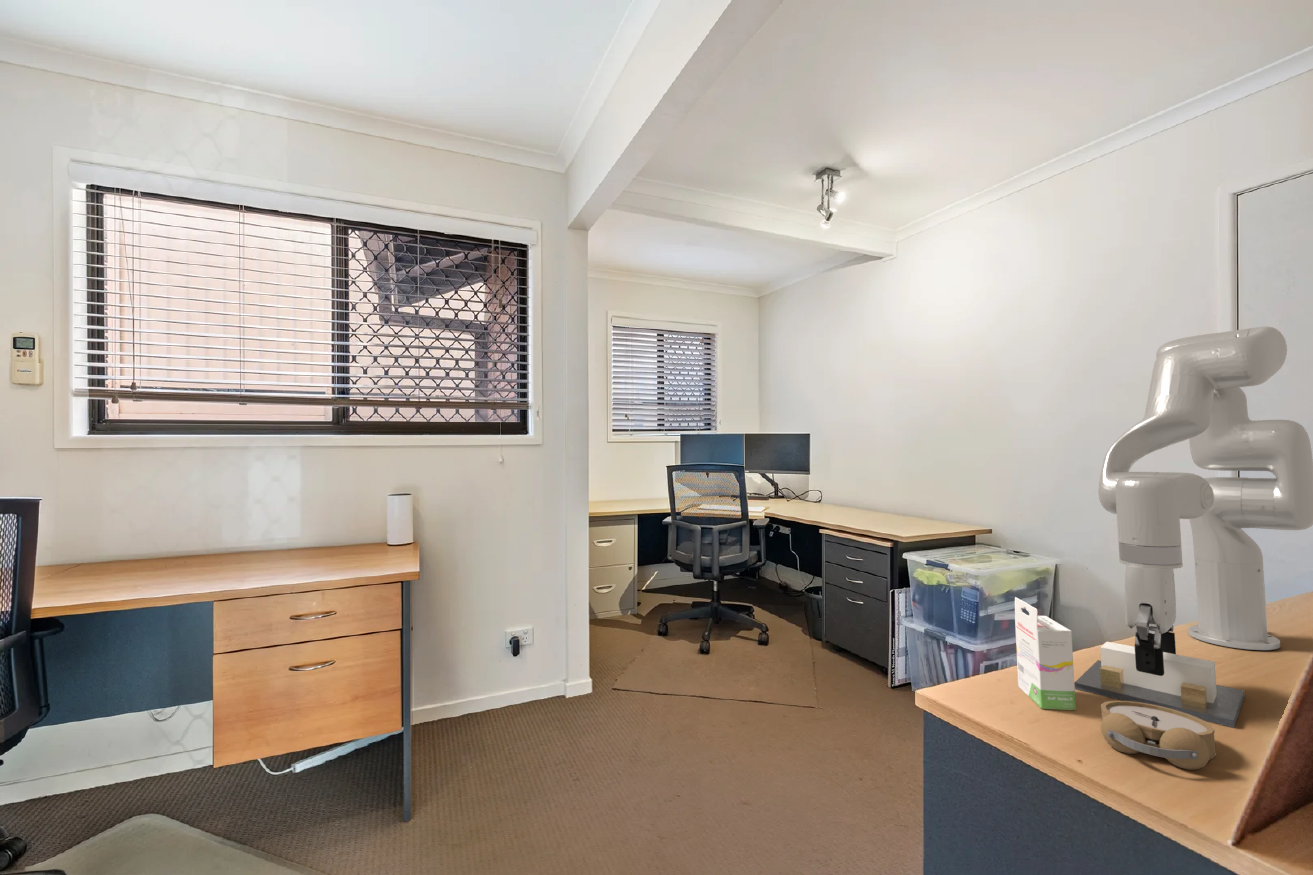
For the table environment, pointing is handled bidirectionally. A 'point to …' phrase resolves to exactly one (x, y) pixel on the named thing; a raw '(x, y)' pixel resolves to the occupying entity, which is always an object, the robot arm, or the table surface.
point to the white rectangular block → (1174, 670)
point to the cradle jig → (1165, 695)
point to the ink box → (1044, 659)
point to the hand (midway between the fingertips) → (1156, 664)
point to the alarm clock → (1158, 733)
